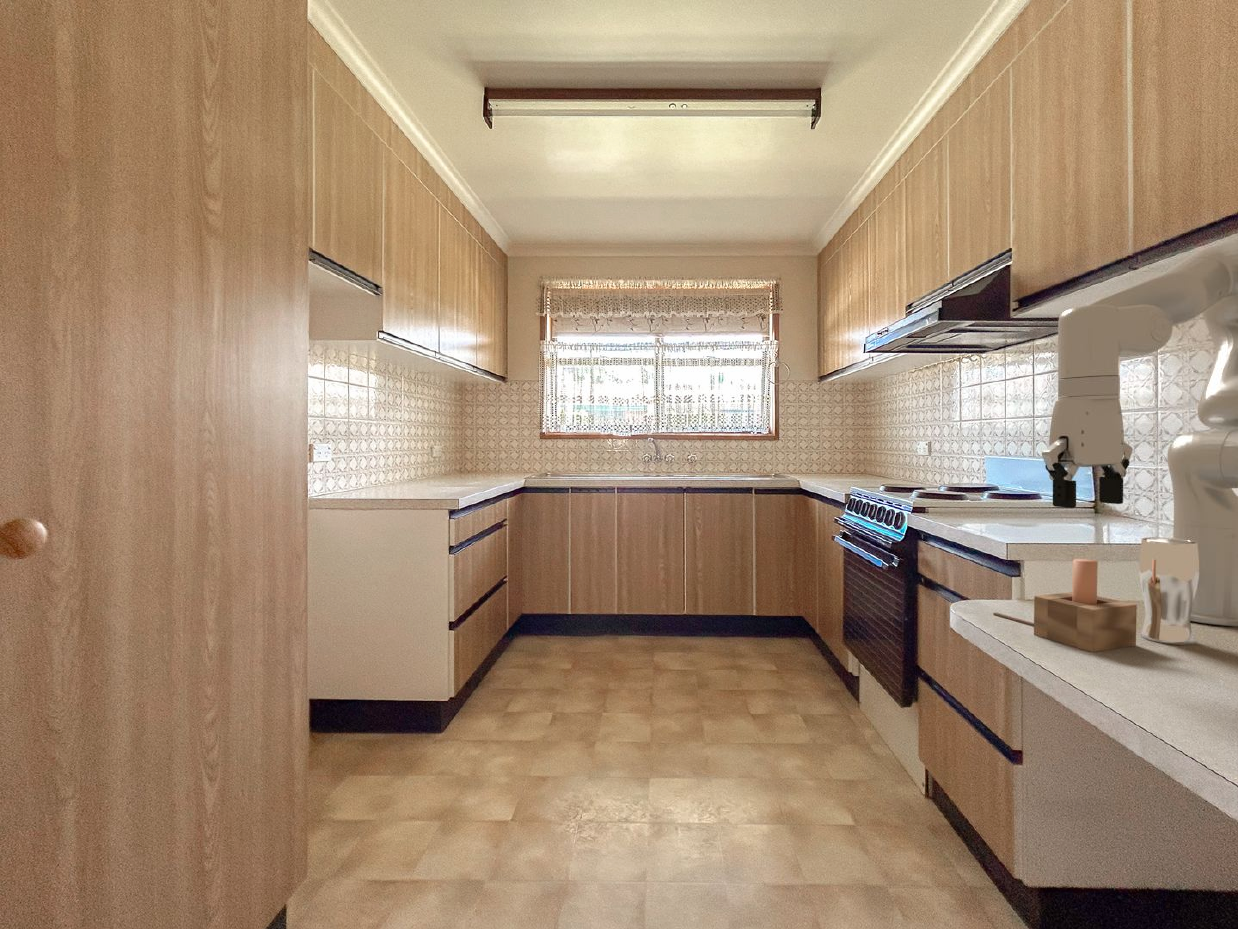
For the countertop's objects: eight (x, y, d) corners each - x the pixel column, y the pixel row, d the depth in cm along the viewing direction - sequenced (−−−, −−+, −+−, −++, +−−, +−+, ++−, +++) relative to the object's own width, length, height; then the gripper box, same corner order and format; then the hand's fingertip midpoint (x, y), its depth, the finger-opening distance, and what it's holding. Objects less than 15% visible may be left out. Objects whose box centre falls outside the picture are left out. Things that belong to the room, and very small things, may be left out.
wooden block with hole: (1075, 629, 105) (1076, 591, 105) (1135, 645, 97) (1136, 604, 96) (1033, 634, 102) (1034, 596, 102) (1091, 651, 94) (1092, 610, 94)
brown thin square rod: (996, 614, 114) (996, 612, 114) (1050, 629, 105) (1050, 628, 105) (993, 614, 114) (993, 613, 114) (1047, 630, 105) (1047, 628, 104)
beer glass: (1209, 647, 95) (1211, 544, 95) (1154, 645, 97) (1156, 543, 96) (1178, 634, 102) (1181, 537, 102) (1127, 631, 104) (1129, 536, 103)
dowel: (1080, 635, 101) (1082, 558, 101) (1100, 641, 99) (1102, 561, 98) (1066, 637, 100) (1068, 559, 100) (1086, 643, 98) (1088, 563, 97)
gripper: (1104, 392, 104) (1103, 499, 105) (1022, 392, 99) (1022, 506, 100) (1155, 388, 97) (1154, 504, 98) (1070, 389, 92) (1070, 511, 93)
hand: (1088, 505), depth 99 cm, fingers open, 9 cm apart
